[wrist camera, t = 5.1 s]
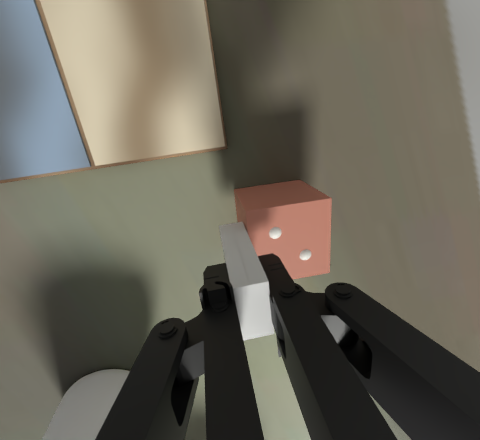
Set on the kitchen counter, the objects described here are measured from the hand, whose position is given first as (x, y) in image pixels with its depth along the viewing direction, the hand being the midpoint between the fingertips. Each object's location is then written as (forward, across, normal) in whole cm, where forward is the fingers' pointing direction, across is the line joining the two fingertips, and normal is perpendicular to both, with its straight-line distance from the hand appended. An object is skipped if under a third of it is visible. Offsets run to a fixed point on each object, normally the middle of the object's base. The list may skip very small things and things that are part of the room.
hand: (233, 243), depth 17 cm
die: (+4, +3, 0) cm, 5 cm away
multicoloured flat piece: (+4, -12, +10) cm, 16 cm away
